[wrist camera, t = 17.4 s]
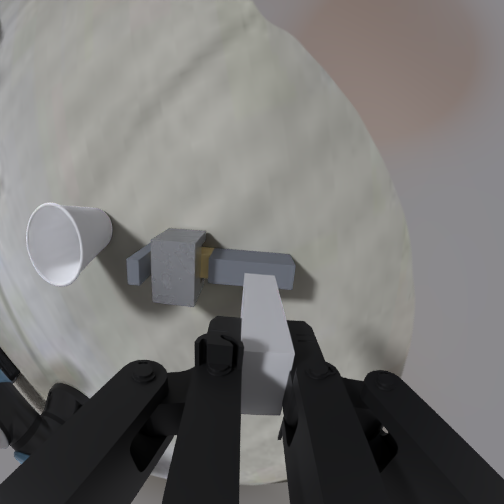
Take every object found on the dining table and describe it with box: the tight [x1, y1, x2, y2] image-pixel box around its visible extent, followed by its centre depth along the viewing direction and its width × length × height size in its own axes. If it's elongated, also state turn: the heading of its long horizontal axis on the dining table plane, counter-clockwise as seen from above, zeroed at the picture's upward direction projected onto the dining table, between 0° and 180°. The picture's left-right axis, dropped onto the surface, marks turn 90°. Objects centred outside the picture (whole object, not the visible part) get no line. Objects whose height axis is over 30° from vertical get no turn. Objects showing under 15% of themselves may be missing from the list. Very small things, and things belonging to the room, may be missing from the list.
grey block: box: [151, 228, 206, 307], centre depth 32 cm, size 5×7×7 cm
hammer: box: [126, 243, 296, 290], centre depth 32 cm, size 19×3×8 cm, turn 85°
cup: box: [26, 202, 112, 287], centre depth 30 cm, size 10×10×11 cm
